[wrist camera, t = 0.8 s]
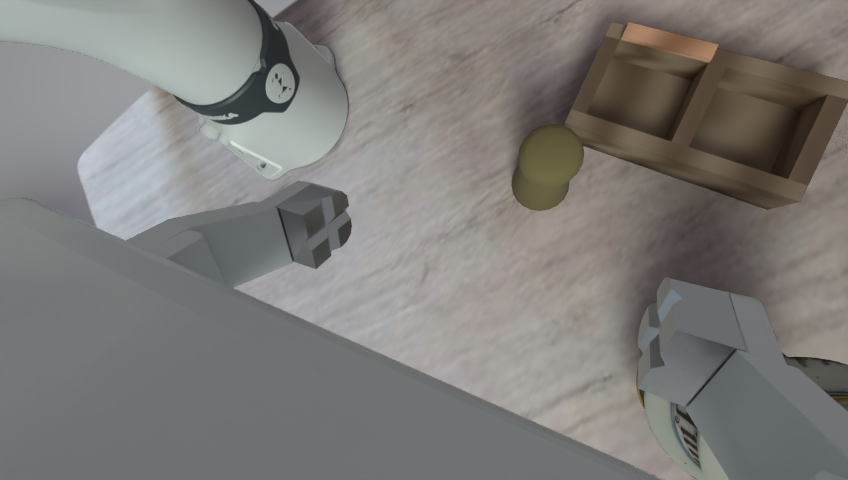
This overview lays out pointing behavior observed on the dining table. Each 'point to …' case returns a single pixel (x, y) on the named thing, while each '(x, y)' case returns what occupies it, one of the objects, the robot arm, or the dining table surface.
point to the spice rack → (707, 114)
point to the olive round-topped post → (547, 166)
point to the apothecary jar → (687, 441)
